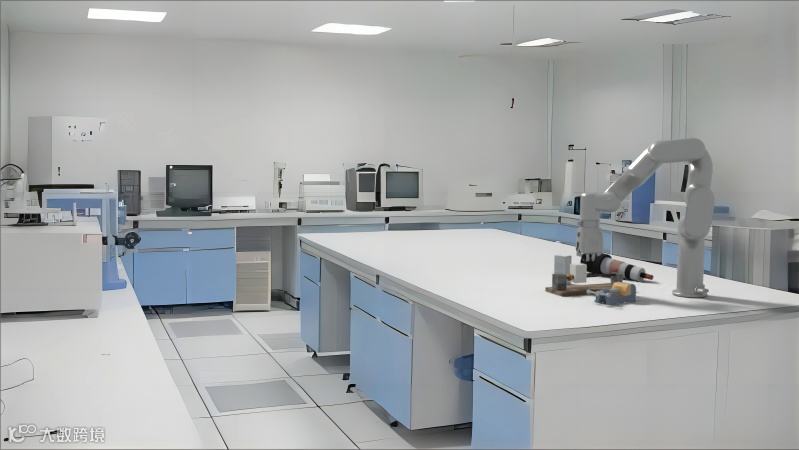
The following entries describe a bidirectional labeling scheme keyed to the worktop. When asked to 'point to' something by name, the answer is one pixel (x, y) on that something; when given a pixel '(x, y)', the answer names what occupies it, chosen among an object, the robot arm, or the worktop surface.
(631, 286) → the vise
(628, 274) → the cable
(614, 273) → the cord rack
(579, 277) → the sleeve
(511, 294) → the worktop surface
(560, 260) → the skincare box
